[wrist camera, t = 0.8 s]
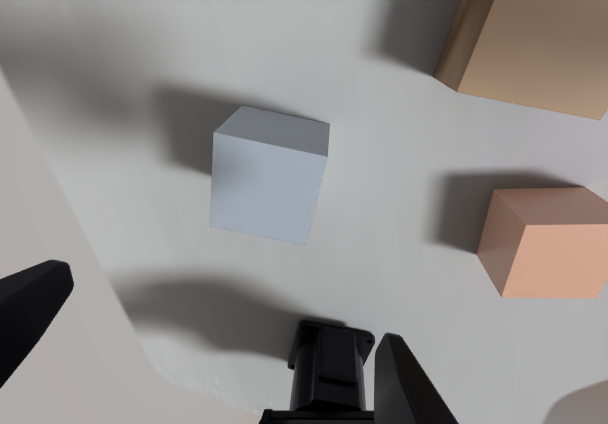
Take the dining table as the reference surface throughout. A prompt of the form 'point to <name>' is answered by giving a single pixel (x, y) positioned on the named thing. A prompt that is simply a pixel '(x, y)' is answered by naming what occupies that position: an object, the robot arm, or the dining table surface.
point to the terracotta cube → (546, 242)
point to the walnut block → (530, 54)
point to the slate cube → (267, 174)
